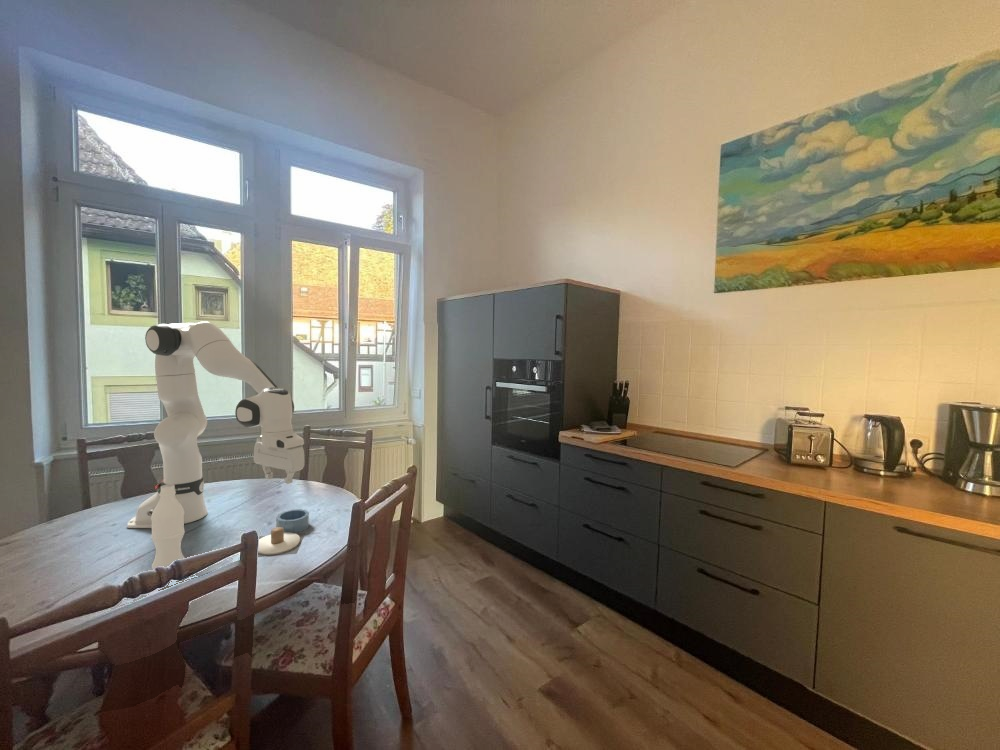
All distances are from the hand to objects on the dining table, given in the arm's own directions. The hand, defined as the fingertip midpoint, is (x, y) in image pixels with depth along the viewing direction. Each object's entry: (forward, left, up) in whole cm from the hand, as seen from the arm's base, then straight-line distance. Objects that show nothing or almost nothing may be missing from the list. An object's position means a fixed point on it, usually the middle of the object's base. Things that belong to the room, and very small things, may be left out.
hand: (278, 480), depth 129 cm
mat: (0, -1, -21) cm, 21 cm away
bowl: (+2, +11, -21) cm, 24 cm away
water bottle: (-25, -12, -22) cm, 35 cm away
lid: (0, -1, -21) cm, 21 cm away
